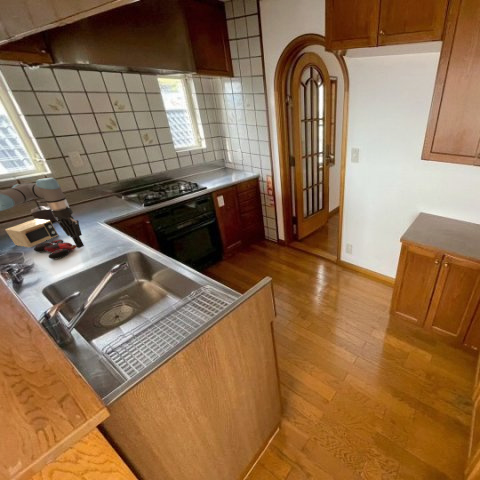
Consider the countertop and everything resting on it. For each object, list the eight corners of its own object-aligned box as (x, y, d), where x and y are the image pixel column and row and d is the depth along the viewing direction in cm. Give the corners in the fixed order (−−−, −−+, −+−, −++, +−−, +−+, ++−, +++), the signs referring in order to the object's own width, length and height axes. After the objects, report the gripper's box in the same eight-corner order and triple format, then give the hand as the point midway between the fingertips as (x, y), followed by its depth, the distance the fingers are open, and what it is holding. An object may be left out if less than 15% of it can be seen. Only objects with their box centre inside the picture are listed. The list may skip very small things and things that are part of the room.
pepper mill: (37, 225, 186) (23, 201, 177) (36, 221, 192) (23, 197, 184) (66, 218, 195) (54, 195, 187) (64, 214, 202) (52, 192, 194)
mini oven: (15, 245, 161) (5, 229, 155) (45, 233, 174) (36, 218, 169) (31, 247, 158) (21, 231, 152) (60, 235, 171) (51, 220, 166)
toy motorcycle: (56, 263, 145) (87, 246, 156) (50, 256, 142) (81, 239, 153) (36, 254, 155) (66, 238, 166) (29, 247, 152) (60, 232, 163)
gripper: (77, 206, 139) (96, 244, 151) (58, 204, 142) (78, 242, 154) (62, 211, 133) (82, 251, 144) (43, 209, 136) (65, 248, 147)
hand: (80, 246), depth 149 cm, fingers closed
